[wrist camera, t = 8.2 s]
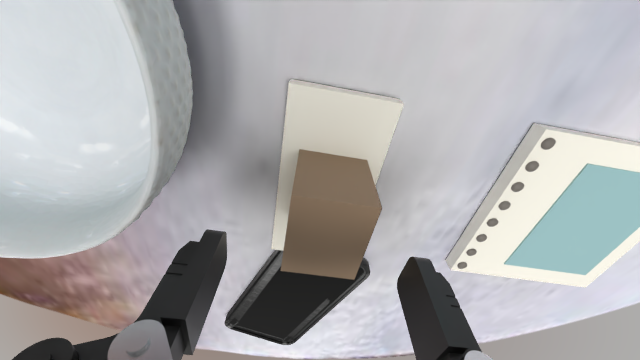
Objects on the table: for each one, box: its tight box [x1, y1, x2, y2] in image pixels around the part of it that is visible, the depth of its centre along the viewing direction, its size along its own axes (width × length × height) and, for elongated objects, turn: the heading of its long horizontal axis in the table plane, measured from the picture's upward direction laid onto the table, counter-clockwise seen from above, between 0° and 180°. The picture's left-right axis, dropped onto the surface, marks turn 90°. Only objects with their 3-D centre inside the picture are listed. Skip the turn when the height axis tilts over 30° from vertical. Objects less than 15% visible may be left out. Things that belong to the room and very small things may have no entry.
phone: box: [225, 250, 370, 345], centre depth 24 cm, size 8×1×15 cm
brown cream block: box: [271, 79, 404, 280], centre depth 15 cm, size 6×12×6 cm, turn 170°
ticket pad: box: [446, 123, 640, 287], centre depth 18 cm, size 12×12×1 cm
